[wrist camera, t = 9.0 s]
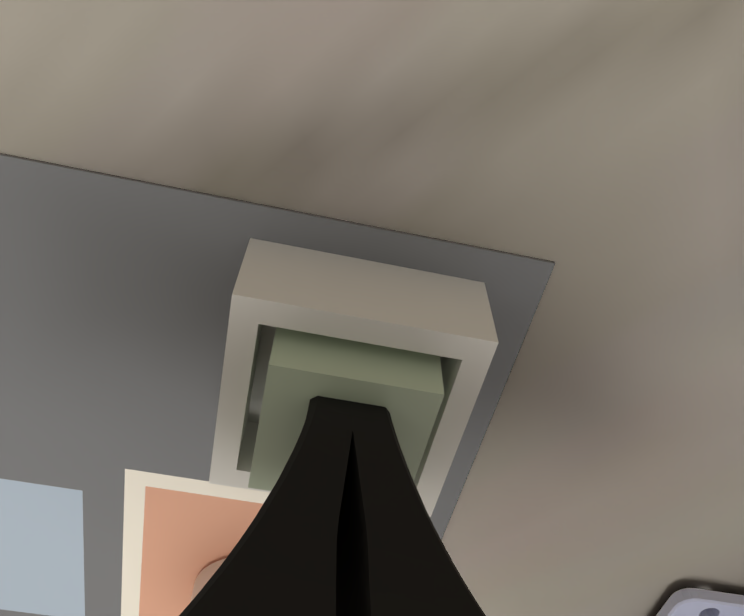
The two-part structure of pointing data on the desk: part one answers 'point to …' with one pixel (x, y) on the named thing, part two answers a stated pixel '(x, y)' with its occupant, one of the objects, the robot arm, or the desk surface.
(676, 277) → the desk surface
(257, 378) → the button housing
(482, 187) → the desk surface
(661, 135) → the desk surface
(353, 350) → the button
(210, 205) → the picture sheet
